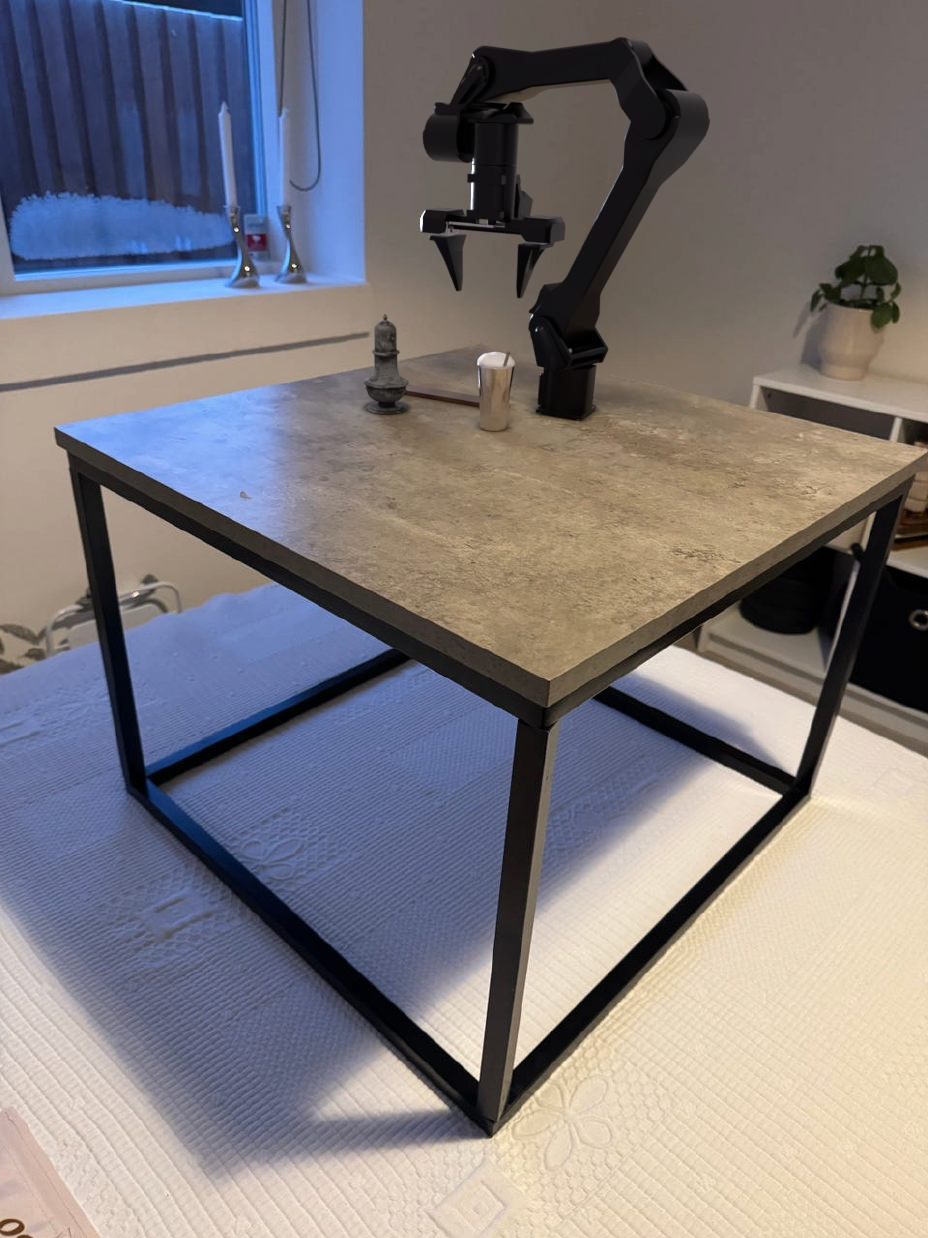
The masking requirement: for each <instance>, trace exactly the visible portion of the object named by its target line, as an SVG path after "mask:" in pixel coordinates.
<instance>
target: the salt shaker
mask: <svg viewBox="0 0 928 1238" xmlns="http://www.w3.org/2000/svg"><path fill="white" fill-rule="evenodd" d="M388 318H389V317H388V316H387V313H384V314H383V316H382V320H381V321H379V322H377V323H376V324H375V325H374V328H373V330H374V331H373V332H374V333H373V334H374V336H373V337H374V339H373V340H374V349H372V350H371V353H372V354H373V362H374V365H373V366H374V367H373V371H372V375H370V377H367V378H365V379H363V384H364V385H365V390H366V392H367V395H368V396H369V397H370V399H372V400H373V401H372V402H370V403H369V404H367V406H366V411H368V412H369V413H373V414H377V415H378V414H379V415H397V414H401V413H404V412H406V411H407V406H406V405H405V404H403V403H402V402H400V401H401V400H402V399H403V398H404V396H405V395H406V394H405V391H406V386H407V385H408V384H409V382H410V381H409V380H408V379H407V378H405V377H402V376H401V375H400V373H399V369H398V355H399V354H400V353H401V352H400V350H399V349H397V347H398V346H397V342H398V340H397V339H398V337H397V336H398V335H397V326H396V325H395V324H394V323H393V322H390V321H389V320H388Z"/></svg>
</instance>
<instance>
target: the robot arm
mask: <svg viewBox="0 0 928 1238" xmlns="http://www.w3.org/2000/svg"><path fill="white" fill-rule="evenodd" d="M602 84H603V85H604V84H611V85H612V86H613V89H614V91H615V95H616V98H617V102H618V105H619V107H620V109H621V110H622V111H623V113H624V114H625V116H626V117H627V118H628V120H629V121H630V122H629V125H628V127H627V130H626V133H625V136H624V142H623V159H622V161H623V162H622V167H621V170H620V172H619V174H618V176H617V178H616V179H615V182H613V185H612V187H611V189H610V191H609V193H608V195H607V197H606V199H605V201H604V203H603V205H602V206H601V209H600V210H599V212H598V214H597V216H596V218H595V220H594V222H593V224H592V225H591V228H590V230H589V232H588V234H587V236H586V237H585V239H584V242H583V244H582V246H581V247H580V249H579V252H578V253H577V255H576V258H575V259H574V261H573V263H572V265H571V267H570V269H569V271H568V272H567V274H566V277H565V278H564V279H563V280H562V281H558V282H552V283H545V284H543V285H542V287H541V288H540V290H539V293H538V295H537V299H536V302H535V304H533V306H532V307H531V308H530V309H529V310H528V314H531V316H530V318H529V321H528V324H527V325H528V326H527V330H528V332H529V335H530V336H529V337H530V339H531V343H532V348H533V353H534V357H535V363H536V366H537V367H539V368H543V370H542V372H541V373H540V374H539V376H538V389H537V405H538V406H537V407H536V408H535V413H538V414H542V415H548V416H553V417H554V416H555V417H561V418H567V419H573V420H579V421H580V420H583V419H585V417H587V416H588V415H590V414H592V412H594V411H595V410H597V404H593V402H594V393H595V384H596V376H597V375H596V374H597V364H602V363H604V361H605V359H606V356H607V355H608V351H609V347H608V345H607V344H606V342H605V340H604V339H603V337H602V335H601V333H600V332H599V330H598V329H597V327H596V325H597V322H598V321H599V317H600V315H601V314H600V313H601V295H602V292H603V290H604V288H605V286H606V285H607V283H608V281H609V280H610V278H611V276H612V274H613V272H614V270H615V269H616V267H617V265H618V263H619V261H620V260H621V258H622V256H623V254H624V252H625V250H626V249H627V247H628V245H629V243H630V241H631V240H632V238H633V236H634V234H635V232H636V231H637V229H638V227H639V226H640V224H641V222H642V220H643V218H644V216H645V214H646V213H647V211H648V209H649V208H650V206H651V204H652V202H653V200H654V198H655V197H656V195H657V193H658V191H659V190H660V188H661V186H662V185H663V184H664V183H665V182H666V181H667V180H668V179H669V178H670V177H672V176H673V175H674V174H675V173H676V172H677V171H678V170H679V169H680V168H681V167H683V166H684V165H685V164H686V162H688V160H689V158H690V157H691V156H692V155H693V154H694V153H695V151H696V149H697V148H698V147H699V146H700V144H701V143H702V142H703V140H704V139H705V138H706V136H707V133H708V131H709V128H710V124H711V119H710V116H709V115H710V114H709V108H708V104H707V103H706V100H705V99H704V98H703V97H702V96H701V95H700V94H699V93H696V92H695V91H690V90H689V89H688V87H687V86H686V84H685V83H684V82H683V81H682V80H681V79H680V78H679V77H678V76H677V75H676V74H675V73H674V72H673V71H672V70H671V69H669V67H668V66H667V65H665V64H664V63H663V62H662V61H661V60H660V59H659V57H658V56H657V55H656V53H655V52H654V51H653V48H651V47H650V45H649V44H648V42H646V41H644V40H642V39H636V38H631V37H624V36H618V37H615V38H614V39H612V40H608V41H600V42H593V43H586V44H579V45H571V46H564V47H556V48H549V49H542V50H535V51H528V50H521V49H515V48H514V49H513V48H507V47H499V46H493V45H492V46H491V45H479V46H478V47H476V48H475V49H474V50H473V51H472V55H471V57H470V59H469V62H468V65H467V67H466V70H465V72H464V73H463V76H462V77H461V80H460V82H459V83H458V86H457V88H456V90H455V92H454V94H453V95H452V98H451V100H450V102H441V101H440V102H439V101H436V102H435V103H434V108H433V109H434V112H433V113H432V114H431V115H430V116H429V117H428V118H427V120H426V122H425V125H424V130H423V131H422V145H423V148H424V151H425V153H426V154H427V156H428V157H429V158H430V159H431V160H432V161H435V162H447V163H460V164H471V163H472V164H471V173H467V175H466V177H467V178H466V179H467V180H466V183H467V184H471V186H470V187H471V190H470V191H471V192H470V208H468V209H466V211H464V210H463V208H450V207H435V208H427V209H425V210H424V211H423V213H422V214H421V216H420V233H424V234H431V235H429V236H428V240H429V241H431V242H432V241H433V242H434V244H435V245H436V247H437V249H438V252H439V253H440V255H441V257H442V259H443V261H444V264H445V266H446V269H447V271H448V274H449V277H450V279H451V282H452V285H453V286H454V287H453V288H454V289H455V291H456V292H461V291H462V290H463V281H464V245H465V241H466V238H467V233H460V231H469V232H470V231H471V232H479V233H480V232H482V233H491V234H492V233H493V234H504V235H515V236H517V235H518V236H521V237H522V239H523V240H524V242H522V243H518V244H517V254H516V255H517V257H516V260H517V262H516V279H515V280H516V281H515V289H516V298H517V299H523V297H524V295H525V292H526V289H527V287H528V285H529V282H530V280H531V277H532V274H533V272H534V269H535V268H536V265H537V263H538V261H539V259H540V257H541V256H542V254H543V253H544V252H545V251H546V249H549V248H554V246H555V243H559V242H561V241H565V237H566V222H565V221H564V219H563V217H562V216H557V215H556V216H555V215H543V214H535V215H531V213H532V208H533V202H534V199H533V197H531V196H530V195H529V194H528V193H527V192H526V191H525V190H522V187H521V184H522V183H521V182H522V179H521V174H517V173H518V172H517V170H518V152H519V151H518V149H519V133H520V126H521V125H522V126H523V125H524V126H531V125H534V123H535V119H534V117H532V115H531V114H530V113H529V112H528V110H527V109H526V108H525V106H524V104H523V102H524V101H527V100H529V99H533V98H535V97H536V96H538V95H539V94H540V93H543V92H545V91H547V90H548V91H549V90H554V89H564V88H575V87H583V86H593V85H602ZM480 220H486V221H487V223H480Z"/></svg>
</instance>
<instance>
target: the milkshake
mask: <svg viewBox="0 0 928 1238" xmlns="http://www.w3.org/2000/svg"><path fill="white" fill-rule="evenodd" d="M510 354H511V351H509V350H508V351H507V350H506V353H504V352H500V351H491V352H485V353H482V354H481V355H480V356H479V357H478V358H477V362H476V363H477V377H478V379H477V380H478V396H479V406H480V407H479V427H480V428H481V429H482V430H485V431H490V432H500V431H504V430H505V429H507V423H508V417H509V408H510V400H511V392H512V385H513V381H514V373H515V366H516V361H515V360H514V358H513V357H512V356H511V355H510Z"/></svg>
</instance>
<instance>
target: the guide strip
mask: <svg viewBox="0 0 928 1238" xmlns="http://www.w3.org/2000/svg"><path fill="white" fill-rule="evenodd" d="M404 395H408V396H413V397H419V398H424V399H431V400H436V401H441V402H442V401H443V402H447V403H453V404H459V405H464V406H465V405H466V406H471V407H477V408H480V406H479V395H475V394H469V393H463V392H455V391H451V390H444V389H438V388H432V387H427V386H420V385H414V384H409V383H408V385H407V386H406V391H405V394H404Z"/></svg>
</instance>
